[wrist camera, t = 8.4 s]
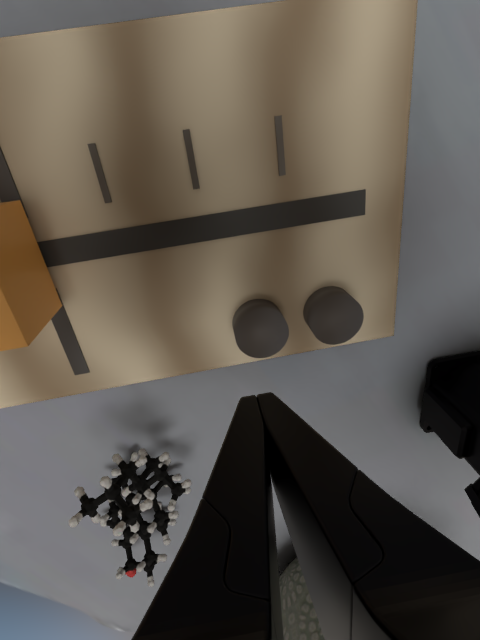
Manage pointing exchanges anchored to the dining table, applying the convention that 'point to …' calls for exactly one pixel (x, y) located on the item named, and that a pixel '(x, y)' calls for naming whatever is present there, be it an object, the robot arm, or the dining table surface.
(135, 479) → the molecular model
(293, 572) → the planter
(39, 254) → the fader cap
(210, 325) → the console panel
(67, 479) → the dining table surface
